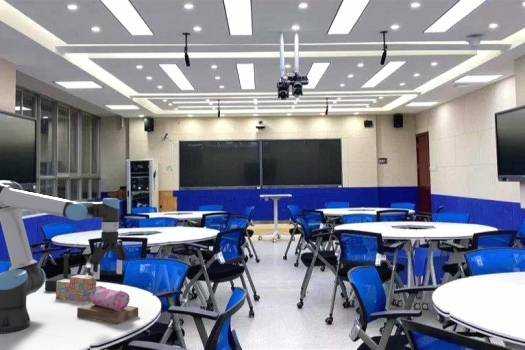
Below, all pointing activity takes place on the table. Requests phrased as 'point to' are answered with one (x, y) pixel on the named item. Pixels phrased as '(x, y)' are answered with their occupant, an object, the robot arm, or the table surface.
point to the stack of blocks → (75, 287)
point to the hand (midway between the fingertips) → (108, 276)
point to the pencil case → (109, 298)
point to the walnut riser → (107, 313)
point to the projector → (59, 276)
